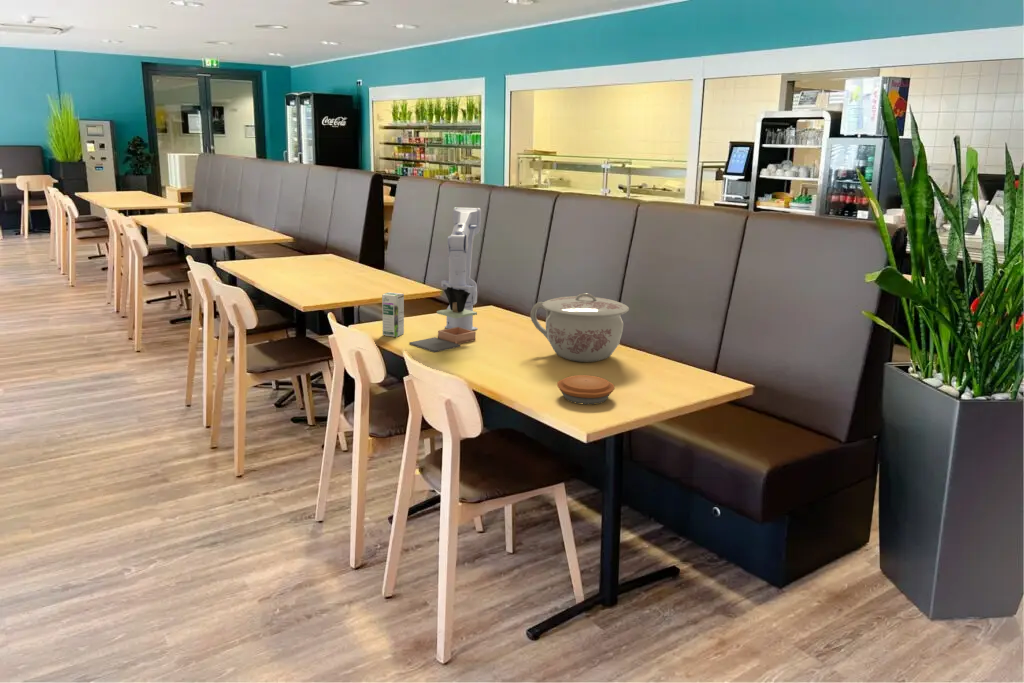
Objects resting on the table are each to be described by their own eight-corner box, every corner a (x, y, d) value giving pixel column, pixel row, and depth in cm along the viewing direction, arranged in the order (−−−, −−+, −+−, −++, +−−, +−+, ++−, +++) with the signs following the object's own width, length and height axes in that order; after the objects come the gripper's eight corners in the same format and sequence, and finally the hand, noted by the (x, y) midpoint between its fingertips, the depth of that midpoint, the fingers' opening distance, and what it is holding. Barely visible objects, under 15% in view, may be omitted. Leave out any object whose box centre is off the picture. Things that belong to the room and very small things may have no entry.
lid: (436, 313, 262) (436, 302, 261) (458, 309, 269) (458, 298, 268) (455, 318, 256) (455, 307, 255) (476, 314, 262) (477, 303, 261)
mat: (409, 344, 257) (409, 342, 257) (435, 338, 265) (435, 337, 265) (434, 352, 248) (434, 350, 248) (460, 346, 256) (460, 344, 256)
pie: (592, 386, 219) (593, 369, 218) (625, 402, 206) (626, 385, 205) (545, 393, 212) (546, 375, 211) (576, 411, 199) (577, 392, 198)
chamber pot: (643, 362, 244) (648, 297, 239) (573, 373, 230) (576, 305, 225) (589, 341, 267) (593, 282, 262) (522, 350, 253) (524, 288, 248)
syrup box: (382, 335, 267) (381, 294, 263) (389, 332, 272) (389, 291, 269) (397, 337, 265) (396, 295, 262) (404, 333, 271) (404, 292, 267)
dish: (438, 339, 264) (438, 330, 264) (457, 335, 271) (458, 326, 270) (455, 344, 258) (455, 335, 258) (475, 340, 265) (475, 331, 264)
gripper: (434, 268, 261) (434, 308, 264) (462, 275, 251) (462, 315, 254) (450, 266, 265) (449, 305, 269) (478, 272, 256) (478, 313, 259)
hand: (457, 310), depth 262 cm, fingers closed on lid, 3 cm apart
